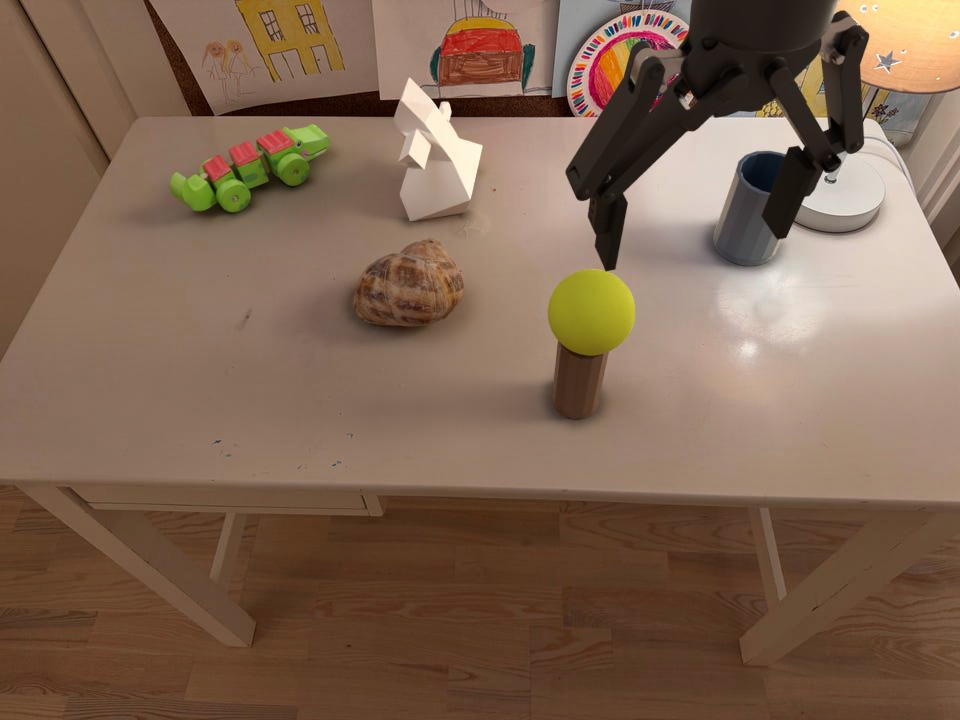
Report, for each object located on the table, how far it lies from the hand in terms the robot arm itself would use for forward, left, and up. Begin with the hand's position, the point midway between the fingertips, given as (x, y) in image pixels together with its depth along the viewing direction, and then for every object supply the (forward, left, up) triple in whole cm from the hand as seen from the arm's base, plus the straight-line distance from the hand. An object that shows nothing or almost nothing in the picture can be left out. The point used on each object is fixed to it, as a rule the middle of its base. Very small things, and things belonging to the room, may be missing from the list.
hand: (690, 242), depth 53 cm
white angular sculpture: (+34, +8, -19) cm, 39 cm away
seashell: (+19, +18, -19) cm, 32 cm away
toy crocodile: (+45, +28, -19) cm, 56 cm away
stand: (+1, +8, -19) cm, 20 cm away
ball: (+1, +7, -5) cm, 9 cm away
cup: (+11, -19, -19) cm, 29 cm away
